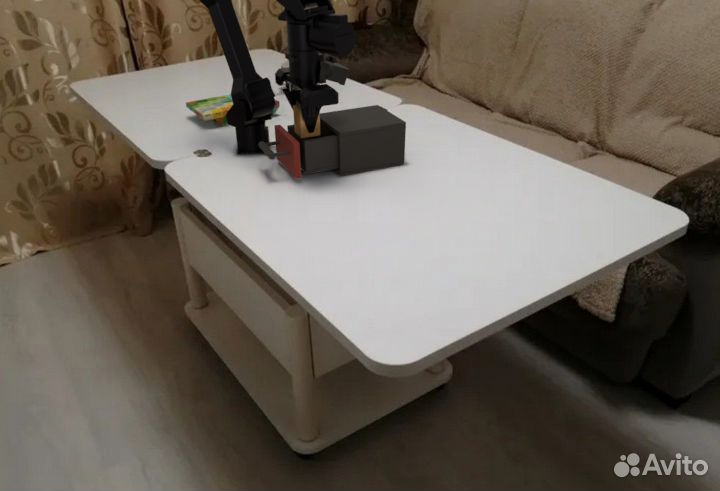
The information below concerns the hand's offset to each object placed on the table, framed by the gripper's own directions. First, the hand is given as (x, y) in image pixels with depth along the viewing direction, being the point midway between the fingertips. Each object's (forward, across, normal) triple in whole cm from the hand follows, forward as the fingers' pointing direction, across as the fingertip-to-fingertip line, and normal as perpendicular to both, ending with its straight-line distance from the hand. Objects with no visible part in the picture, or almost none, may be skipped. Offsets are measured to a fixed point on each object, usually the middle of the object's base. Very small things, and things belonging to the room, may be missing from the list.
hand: (307, 129), depth 118 cm
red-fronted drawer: (+8, 0, 0) cm, 8 cm away
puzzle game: (+9, +39, +5) cm, 40 cm away
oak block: (+1, 0, 0) cm, 1 cm away
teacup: (+9, +53, -18) cm, 57 cm away
